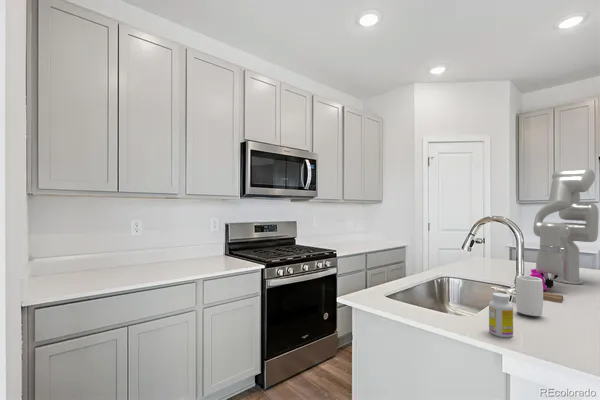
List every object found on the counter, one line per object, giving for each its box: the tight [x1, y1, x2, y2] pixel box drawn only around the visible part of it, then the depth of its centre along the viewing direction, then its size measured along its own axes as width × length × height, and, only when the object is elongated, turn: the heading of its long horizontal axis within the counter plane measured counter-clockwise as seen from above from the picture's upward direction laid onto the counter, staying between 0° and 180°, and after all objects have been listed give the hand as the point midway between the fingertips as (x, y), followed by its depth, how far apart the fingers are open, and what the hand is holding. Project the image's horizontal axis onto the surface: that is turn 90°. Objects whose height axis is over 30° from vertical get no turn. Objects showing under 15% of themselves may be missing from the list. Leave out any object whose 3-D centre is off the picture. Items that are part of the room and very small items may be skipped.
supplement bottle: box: [488, 292, 514, 339], centre depth 104 cm, size 7×7×13 cm
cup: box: [515, 275, 544, 317], centre depth 120 cm, size 8×8×14 cm
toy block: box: [529, 268, 547, 291], centre depth 156 cm, size 15×6×8 cm, turn 143°
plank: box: [543, 291, 564, 304], centre depth 144 cm, size 7×18×2 cm, turn 44°
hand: (549, 287), depth 152 cm, fingers closed
